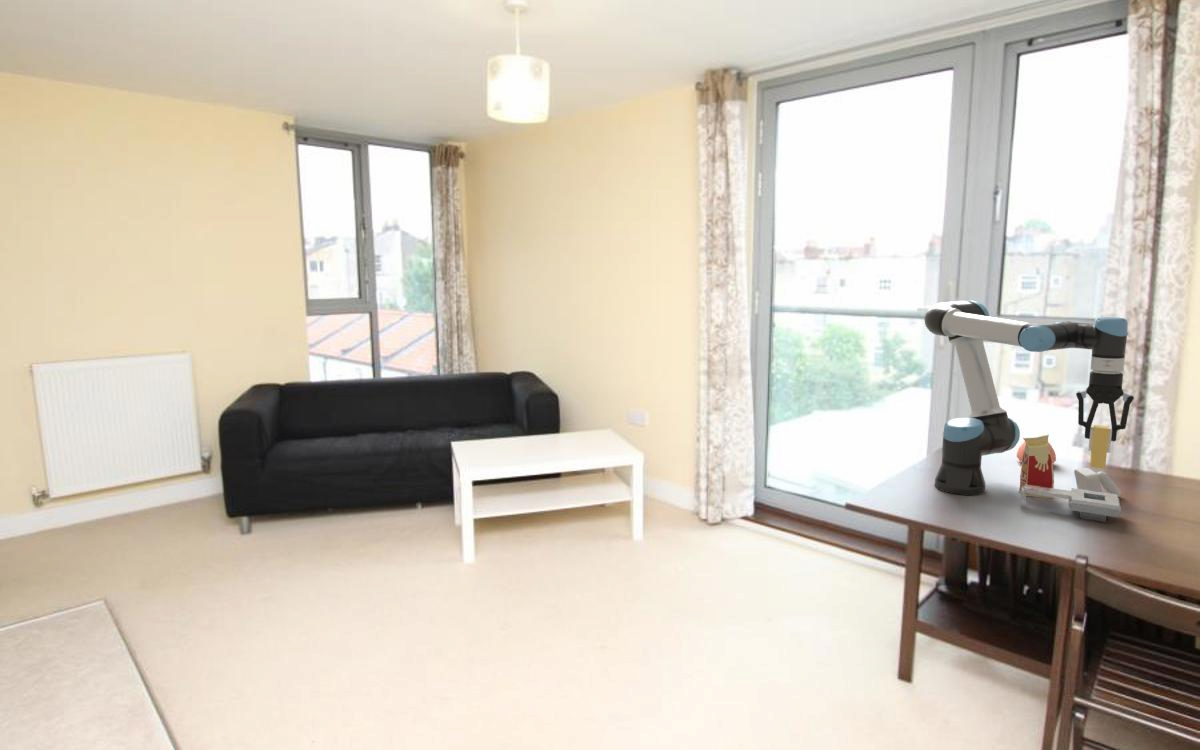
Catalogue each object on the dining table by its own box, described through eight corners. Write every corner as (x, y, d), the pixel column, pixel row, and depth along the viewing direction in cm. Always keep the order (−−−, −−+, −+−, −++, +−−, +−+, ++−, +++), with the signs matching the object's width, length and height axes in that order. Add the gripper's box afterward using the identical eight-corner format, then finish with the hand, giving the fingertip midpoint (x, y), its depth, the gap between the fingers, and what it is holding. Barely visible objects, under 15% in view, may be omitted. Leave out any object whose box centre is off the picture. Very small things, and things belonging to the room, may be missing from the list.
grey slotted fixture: (1019, 511, 199) (1020, 492, 198) (1021, 499, 209) (1023, 480, 208) (1119, 527, 185) (1121, 507, 184) (1117, 513, 195) (1119, 494, 194)
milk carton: (1047, 489, 216) (1052, 431, 213) (1053, 499, 208) (1059, 438, 205) (1015, 486, 220) (1020, 429, 217) (1020, 495, 212) (1025, 436, 208)
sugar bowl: (1011, 464, 243) (1013, 438, 241) (1022, 456, 252) (1024, 430, 251) (1050, 471, 234) (1052, 443, 233) (1060, 462, 244) (1062, 436, 242)
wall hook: (1128, 499, 204) (1123, 469, 203) (1092, 505, 206) (1086, 476, 205) (1114, 491, 211) (1108, 462, 210) (1079, 497, 214) (1073, 468, 213)
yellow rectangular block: (1090, 467, 190) (1093, 427, 188) (1089, 463, 193) (1093, 424, 191) (1105, 468, 188) (1109, 428, 186) (1104, 465, 191) (1108, 426, 189)
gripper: (1070, 371, 188) (1064, 449, 192) (1145, 375, 178) (1136, 457, 182) (1071, 367, 194) (1064, 443, 198) (1143, 371, 184) (1134, 451, 188)
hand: (1098, 450), depth 190 cm, fingers closed on yellow rectangular block, 3 cm apart
